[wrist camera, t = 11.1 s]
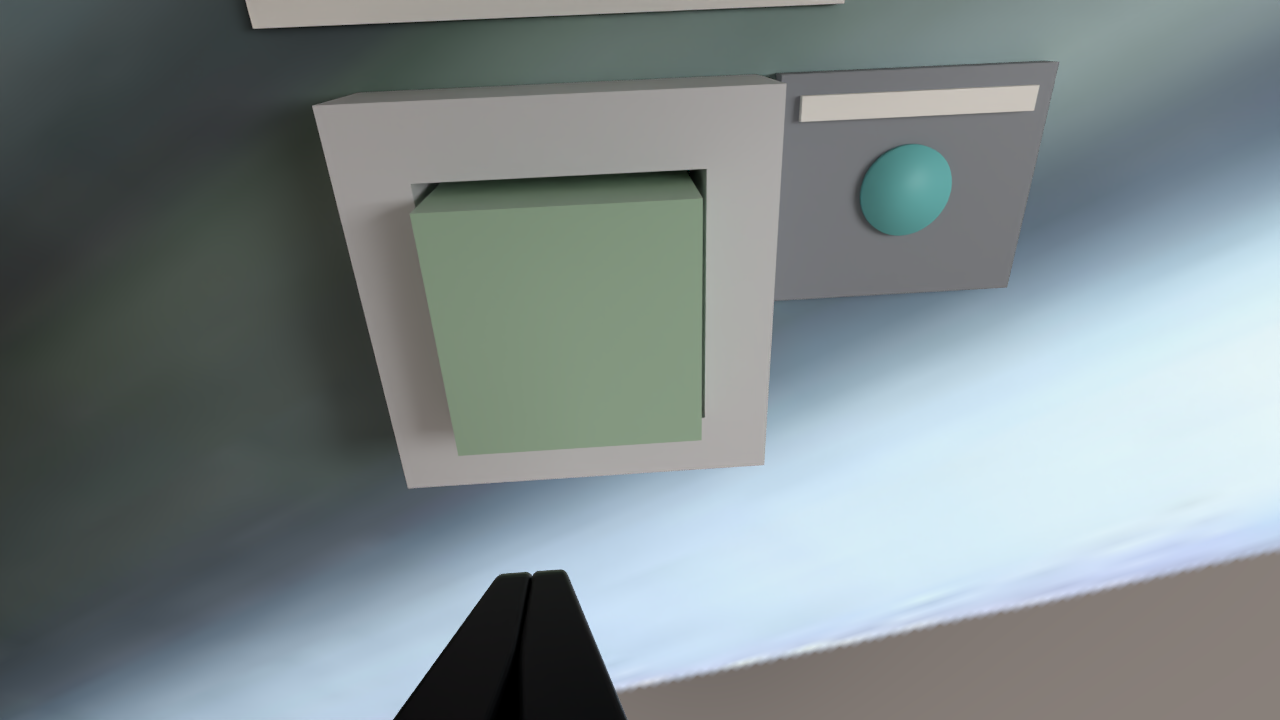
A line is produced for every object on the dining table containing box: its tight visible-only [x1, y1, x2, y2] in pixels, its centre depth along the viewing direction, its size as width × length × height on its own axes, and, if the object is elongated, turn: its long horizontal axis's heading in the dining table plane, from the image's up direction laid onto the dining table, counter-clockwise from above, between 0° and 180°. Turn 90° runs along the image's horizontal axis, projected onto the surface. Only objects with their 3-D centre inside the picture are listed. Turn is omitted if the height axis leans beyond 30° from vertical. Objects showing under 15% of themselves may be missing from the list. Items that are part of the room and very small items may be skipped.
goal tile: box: [774, 61, 1059, 301], centre depth 18 cm, size 7×6×1 cm
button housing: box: [312, 74, 787, 488], centre depth 17 cm, size 10×10×3 cm
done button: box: [410, 170, 703, 456], centre depth 17 cm, size 6×6×4 cm
